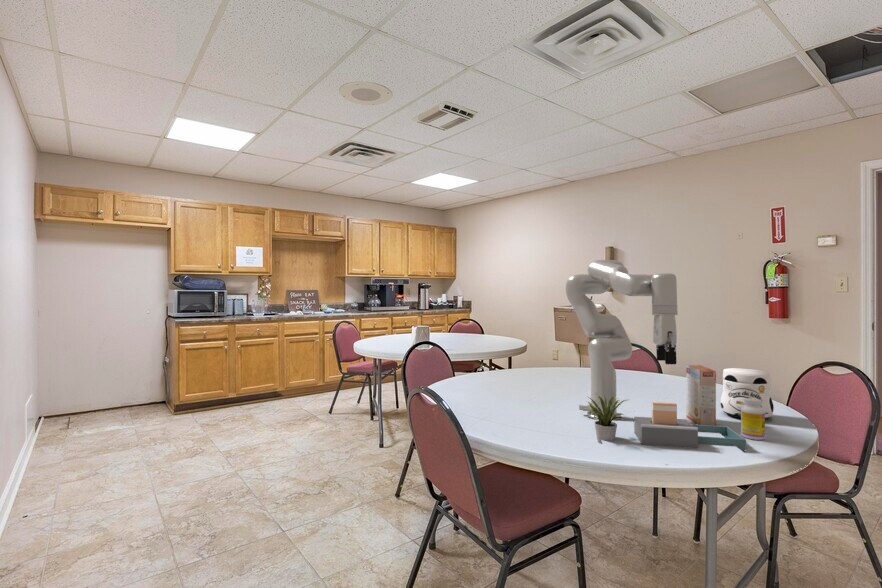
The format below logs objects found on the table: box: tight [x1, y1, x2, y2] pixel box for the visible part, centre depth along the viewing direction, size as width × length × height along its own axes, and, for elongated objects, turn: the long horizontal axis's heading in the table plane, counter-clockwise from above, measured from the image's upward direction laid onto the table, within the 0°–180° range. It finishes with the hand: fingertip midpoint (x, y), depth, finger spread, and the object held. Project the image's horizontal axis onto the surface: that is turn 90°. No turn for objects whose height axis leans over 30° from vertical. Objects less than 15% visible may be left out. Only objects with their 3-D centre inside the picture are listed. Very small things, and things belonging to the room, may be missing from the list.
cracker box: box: [685, 364, 717, 426], centre depth 168 cm, size 14×6×21 cm, turn 168°
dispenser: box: [633, 416, 699, 449], centre depth 143 cm, size 16×12×8 cm
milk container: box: [719, 367, 775, 420], centre depth 175 cm, size 17×17×18 cm
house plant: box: [586, 393, 628, 445], centre depth 146 cm, size 14×14×16 cm
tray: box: [690, 423, 747, 451], centre depth 145 cm, size 14×14×4 cm
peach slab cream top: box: [651, 401, 678, 425], centre depth 143 cm, size 7×2×12 cm, turn 77°
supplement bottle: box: [740, 398, 766, 441], centre depth 150 cm, size 7×7×13 cm
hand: (666, 362), depth 146 cm, fingers open, 9 cm apart
